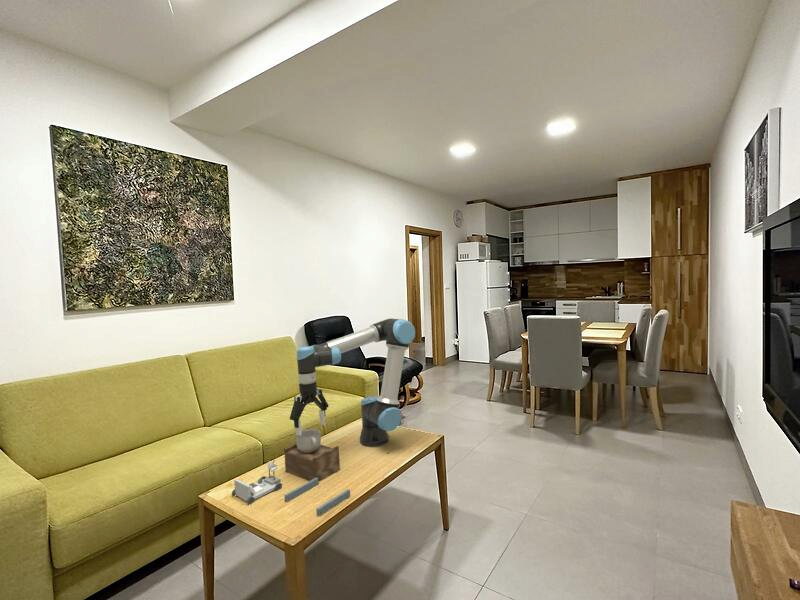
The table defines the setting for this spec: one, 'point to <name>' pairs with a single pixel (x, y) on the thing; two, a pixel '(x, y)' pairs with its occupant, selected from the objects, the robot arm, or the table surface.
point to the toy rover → (257, 486)
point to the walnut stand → (312, 462)
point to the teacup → (308, 440)
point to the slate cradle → (325, 506)
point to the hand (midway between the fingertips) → (311, 429)
